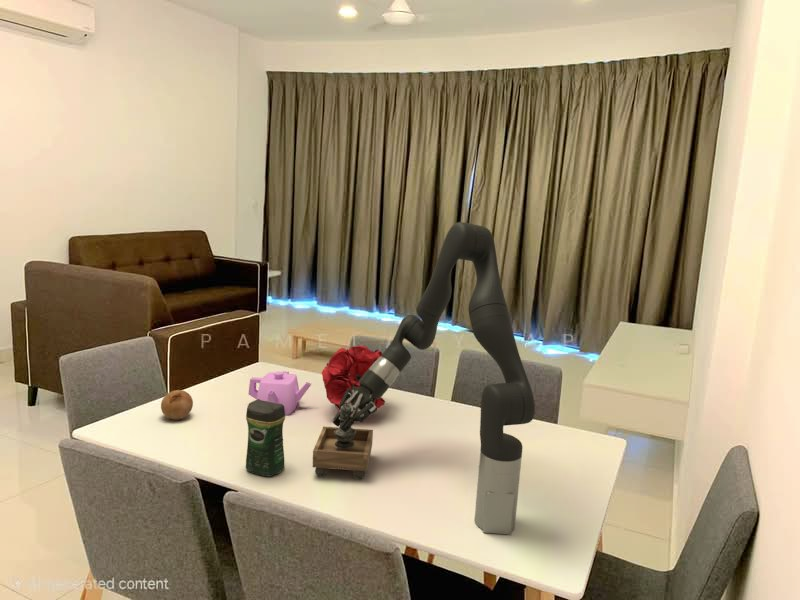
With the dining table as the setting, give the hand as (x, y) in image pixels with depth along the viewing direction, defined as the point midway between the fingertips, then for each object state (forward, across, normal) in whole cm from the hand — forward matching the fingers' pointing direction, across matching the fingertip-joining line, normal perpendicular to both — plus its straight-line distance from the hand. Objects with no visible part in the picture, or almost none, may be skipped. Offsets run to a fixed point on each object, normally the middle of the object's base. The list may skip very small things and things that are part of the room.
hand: (338, 427), depth 155 cm
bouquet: (-10, -33, +27) cm, 44 cm away
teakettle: (+6, -47, +11) cm, 49 cm away
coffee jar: (+20, -8, -4) cm, 22 cm away
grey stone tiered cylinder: (+2, 0, +5) cm, 6 cm away
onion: (+29, -53, -12) cm, 61 cm away
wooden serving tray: (+7, 0, +9) cm, 12 cm away
